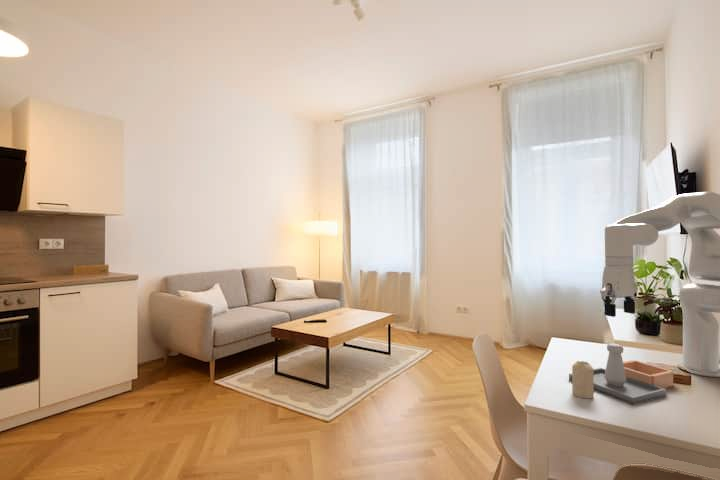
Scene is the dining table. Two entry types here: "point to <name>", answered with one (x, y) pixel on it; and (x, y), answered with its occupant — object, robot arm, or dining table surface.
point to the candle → (583, 380)
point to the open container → (648, 373)
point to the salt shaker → (615, 366)
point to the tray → (626, 389)
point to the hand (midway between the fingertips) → (619, 314)
